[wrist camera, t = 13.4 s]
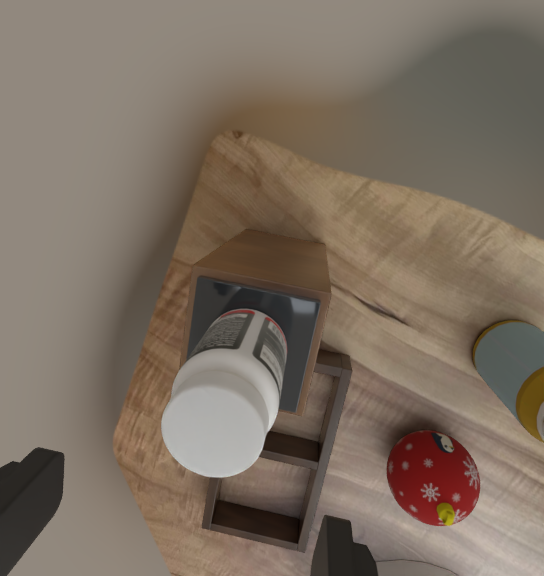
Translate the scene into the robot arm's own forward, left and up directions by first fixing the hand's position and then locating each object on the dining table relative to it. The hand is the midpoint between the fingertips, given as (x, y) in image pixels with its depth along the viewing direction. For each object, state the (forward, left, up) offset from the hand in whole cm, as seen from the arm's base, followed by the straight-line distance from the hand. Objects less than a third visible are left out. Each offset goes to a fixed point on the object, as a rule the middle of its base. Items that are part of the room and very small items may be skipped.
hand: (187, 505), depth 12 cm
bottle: (+24, -3, -30) cm, 39 cm away
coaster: (0, 0, -12) cm, 12 cm away
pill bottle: (0, 0, -12) cm, 12 cm away
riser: (0, 0, -30) cm, 30 cm away
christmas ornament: (+19, -16, -30) cm, 39 cm away
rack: (+3, -18, -30) cm, 35 cm away
